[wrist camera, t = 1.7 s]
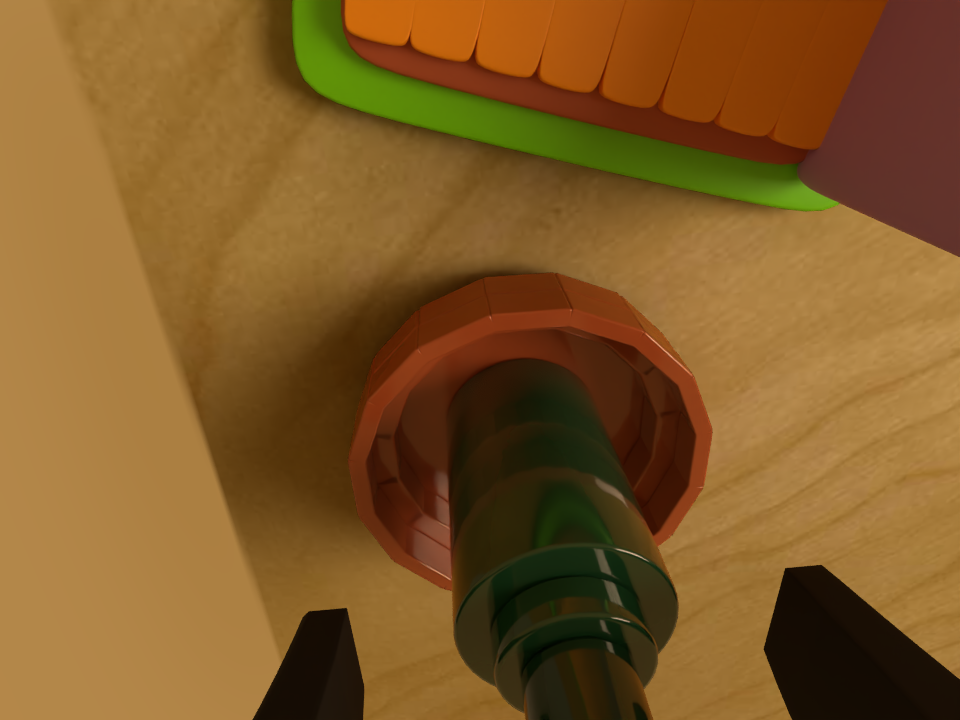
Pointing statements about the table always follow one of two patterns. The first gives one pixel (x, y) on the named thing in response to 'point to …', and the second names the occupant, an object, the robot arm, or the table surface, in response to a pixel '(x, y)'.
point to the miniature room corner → (675, 91)
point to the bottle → (551, 549)
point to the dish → (509, 336)
